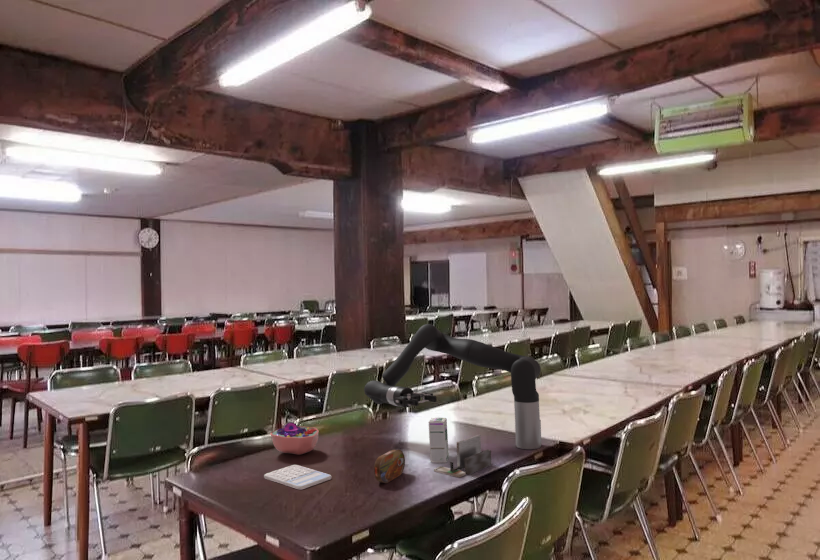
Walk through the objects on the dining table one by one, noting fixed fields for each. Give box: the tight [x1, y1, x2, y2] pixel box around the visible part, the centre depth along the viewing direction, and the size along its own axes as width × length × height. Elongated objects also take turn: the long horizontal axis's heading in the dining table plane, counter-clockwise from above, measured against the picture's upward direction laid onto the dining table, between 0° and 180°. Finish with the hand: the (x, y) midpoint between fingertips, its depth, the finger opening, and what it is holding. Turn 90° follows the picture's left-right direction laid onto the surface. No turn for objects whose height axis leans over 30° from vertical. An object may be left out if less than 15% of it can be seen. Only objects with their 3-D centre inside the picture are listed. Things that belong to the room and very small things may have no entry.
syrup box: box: [428, 417, 450, 464], centre depth 202 cm, size 6×6×14 cm
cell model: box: [269, 421, 319, 456], centre depth 217 cm, size 17×20×11 cm
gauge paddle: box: [449, 434, 482, 472], centre depth 191 cm, size 16×1×9 cm, turn 138°
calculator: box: [263, 464, 332, 490], centre depth 188 cm, size 13×20×2 cm, turn 49°
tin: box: [373, 449, 406, 484], centre depth 185 cm, size 15×3×8 cm, turn 149°
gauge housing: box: [433, 449, 492, 478], centre depth 193 cm, size 18×12×5 cm, turn 138°
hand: (426, 401), depth 208 cm, fingers open, 8 cm apart
